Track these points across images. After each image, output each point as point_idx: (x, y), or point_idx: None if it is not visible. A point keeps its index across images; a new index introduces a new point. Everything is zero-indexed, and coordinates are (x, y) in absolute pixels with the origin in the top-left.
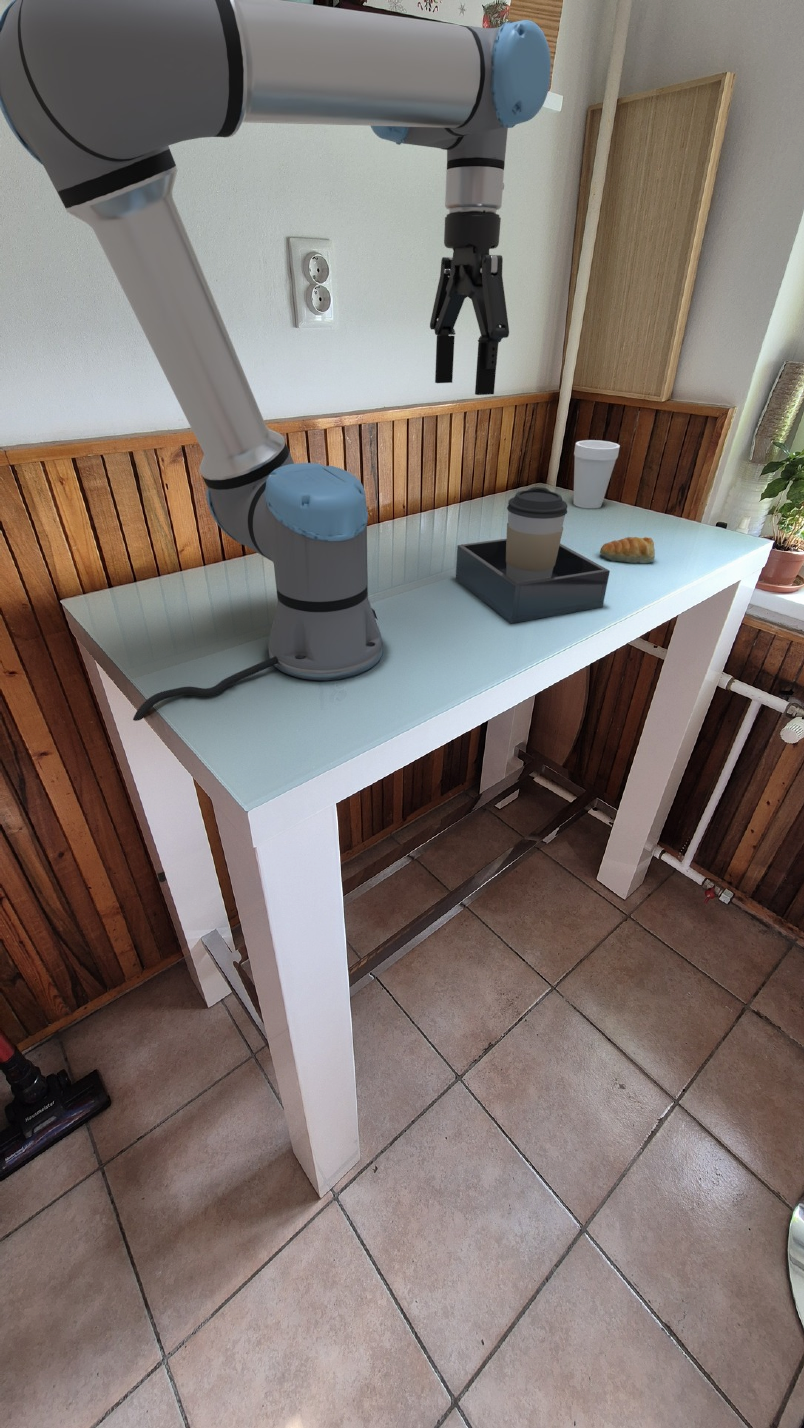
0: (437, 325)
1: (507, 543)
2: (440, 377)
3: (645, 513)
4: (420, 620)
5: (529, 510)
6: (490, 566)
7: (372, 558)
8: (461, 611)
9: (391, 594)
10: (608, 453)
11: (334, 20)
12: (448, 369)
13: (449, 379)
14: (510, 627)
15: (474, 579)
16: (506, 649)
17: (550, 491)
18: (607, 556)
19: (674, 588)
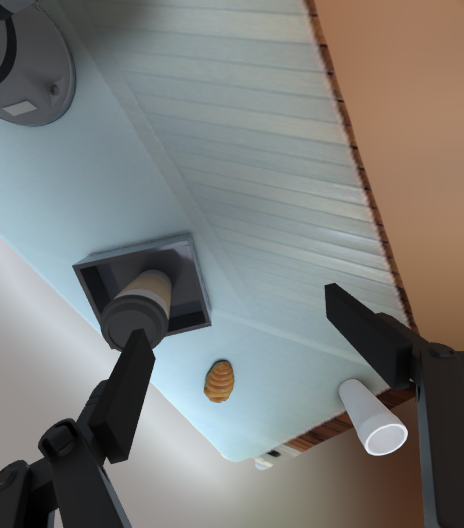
0: (445, 366)
1: (142, 282)
2: (331, 297)
3: (313, 419)
4: (96, 178)
5: (104, 312)
6: (123, 256)
7: (258, 160)
8: (116, 220)
9: (159, 162)
10: (362, 439)
11: None
12: (340, 323)
13: (329, 314)
14: (82, 252)
15: (152, 243)
16: (39, 237)
17: None
18: (215, 364)
19: (155, 385)
